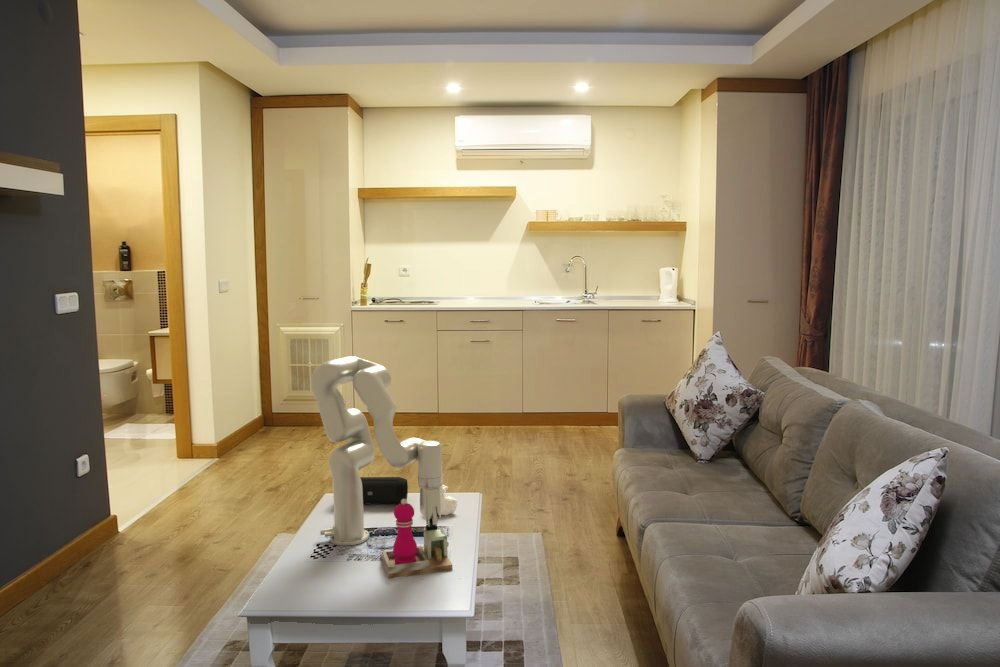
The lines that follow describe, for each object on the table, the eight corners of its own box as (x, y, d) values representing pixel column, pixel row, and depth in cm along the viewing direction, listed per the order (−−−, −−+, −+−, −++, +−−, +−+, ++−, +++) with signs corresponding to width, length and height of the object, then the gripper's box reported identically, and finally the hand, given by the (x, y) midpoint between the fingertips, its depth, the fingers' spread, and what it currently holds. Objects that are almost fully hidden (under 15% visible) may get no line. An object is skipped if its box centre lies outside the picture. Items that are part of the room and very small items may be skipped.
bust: (457, 518, 260) (456, 488, 266) (457, 511, 253) (456, 481, 259) (424, 519, 259) (424, 489, 265) (423, 512, 252) (423, 482, 258)
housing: (428, 558, 216) (427, 538, 215) (424, 551, 222) (423, 531, 221) (447, 555, 218) (447, 535, 217) (442, 548, 224) (442, 528, 223)
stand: (388, 578, 207) (388, 564, 206) (380, 556, 222) (380, 543, 221) (452, 569, 212) (452, 554, 212) (440, 548, 227) (439, 535, 227)
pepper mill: (397, 570, 208) (396, 504, 206) (390, 561, 215) (388, 497, 212) (421, 565, 212) (419, 500, 209) (412, 556, 218) (411, 493, 216)
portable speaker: (336, 508, 266) (335, 482, 264) (342, 499, 275) (341, 474, 274) (404, 507, 265) (404, 481, 264) (408, 498, 275) (407, 473, 274)
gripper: (413, 475, 229) (415, 530, 231) (423, 489, 214) (425, 548, 216) (436, 472, 231) (438, 527, 233) (448, 486, 217) (449, 544, 219)
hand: (431, 537), depth 225 cm, fingers closed
